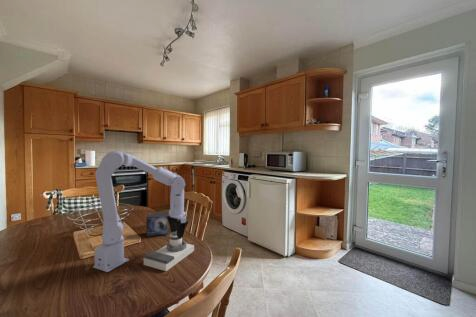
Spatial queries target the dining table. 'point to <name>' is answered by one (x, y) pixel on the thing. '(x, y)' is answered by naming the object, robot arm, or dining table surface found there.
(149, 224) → the small box
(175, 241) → the lens
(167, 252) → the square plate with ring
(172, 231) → the robot arm
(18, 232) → the dining table surface
